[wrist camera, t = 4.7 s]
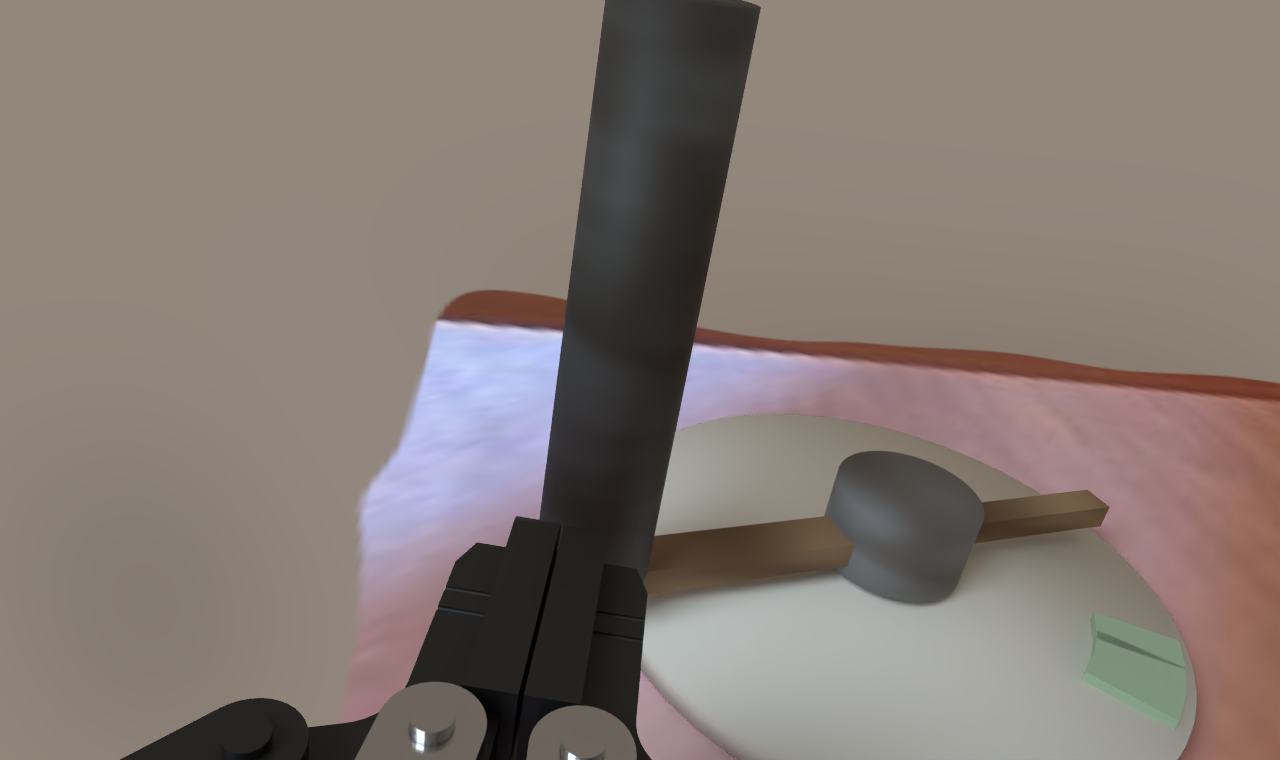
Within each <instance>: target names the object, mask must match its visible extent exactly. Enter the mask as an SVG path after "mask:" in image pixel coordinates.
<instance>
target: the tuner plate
mask: <svg viewBox="0 0 1280 760" xmlns="http://www.w3.org/2000/svg"><path fill="white" fill-rule="evenodd" d="M866 451H889V452H896V453H902V454H906V455H910V456H914V457H917V458H920V459H923V460H926V461H928V462H931V463H933V464H935V465H938V466H940V467H942V468H944V469H945V470H947V471H949V472H951V473H952V474H954V475H955V476H957V477H958V478H960V479H961V480H962V481H964V482H965V483H966V484H967V485H968V486H969V487H970V488H971V489H972V490H973V491H974V492H975V493H976V494H977V496H978V497H979V499H980V500H981V502H988V501H997V500H1005V499H1014V498H1023V497H1031V496H1040V495H1042V494H1040V493H1038V492H1037V491H1035V490H1034V489H1032V488H1030V487H1029V486H1027V485H1025V484H1023V483H1021V482H1019V481H1018V480H1016V479H1014V478H1012V477H1010V476H1008V475H1007V474H1005V473H1003V472H1001V471H999V470H997V469H995V468H992V467H990V466H988V465H986V464H984V463H982V462H980V461H978V460H976V459H973V458H971V457H968V456H966V455H964V454H961V453H959V452H956V451H954V450H951V449H949V448H946V447H944V446H941V445H938V444H935V443H932V442H929V441H926V440H923V439H921V438H918V437H915V436H911V435H908V434H904V433H901V432H897V431H893V430H890V429H886V428H882V427H878V426H873V425H869V424H864V423H860V422H854V421H848V420H842V419H836V418H829V417H820V416H809V415H796V414H760V415H744V416H736V417H729V418H721V419H717V420H713V421H708V422H704V423H700V424H696V425H693V426H690V427H688V428H685V429H682V430H679V431H676V432H675V436H674V441H673V446H672V451H671V456H670V461H669V466H668V471H667V476H666V481H665V486H664V491H663V496H662V501H661V505H660V510H659V515H658V520H657V525H656V530H655V535H654V536H658V535H667V534H675V533H684V532H693V531H701V530H710V529H719V528H727V527H736V526H745V525H754V524H762V523H771V522H780V521H788V520H797V519H806V518H814V517H823V516H824V514H825V511H826V508H827V505H828V501H829V498H830V495H831V491H832V488H833V485H834V482H835V478H836V475H837V472H838V469H839V466H840V464H841V463H842V462H843V461H844V460H845V459H846V458H847V457H849V456H851V455H854V454H856V453H860V452H866ZM641 671H642V672H643V673H644V674H645V676H646V677H647V678H648V679H649V681H650V682H651V683H652V684H653V685H654V687H655V688H656V689H657V690H658V691H659V693H660V694H661V695H662V696H663V697H664V698H665V699H666V700H667V701H668V702H669V703H670V704H671V705H672V706H673V707H674V708H675V709H676V710H677V711H678V712H679V713H681V714H682V715H683V716H684V717H685V718H686V719H687V720H688V721H689V722H690V723H691V724H692V725H693V726H694V727H695V728H697V729H698V730H699V731H700V732H702V733H703V734H704V735H706V736H707V737H708V738H710V739H711V740H712V741H714V742H715V743H716V744H717V745H719V746H720V747H721V748H723V749H724V750H725V751H727V752H728V753H729V754H730V755H732V756H733V757H735V758H736V759H738V760H1178V759H1179V757H1180V756H1181V754H1182V752H1183V751H1184V749H1185V747H1186V745H1187V742H1188V740H1189V737H1190V734H1191V732H1192V729H1193V726H1194V723H1195V715H1196V704H1197V691H1196V684H1195V677H1194V670H1193V667H1192V664H1191V661H1190V658H1189V655H1188V652H1187V649H1186V646H1185V643H1184V641H1183V639H1182V637H1181V635H1180V633H1179V631H1178V629H1177V627H1176V625H1175V623H1174V621H1173V620H1172V618H1171V616H1170V615H1169V613H1168V612H1167V610H1166V609H1165V607H1164V606H1163V604H1162V603H1161V601H1160V600H1159V599H1158V597H1157V596H1156V594H1155V593H1154V591H1153V590H1152V589H1151V588H1150V587H1149V586H1148V584H1147V583H1146V582H1145V581H1144V580H1143V578H1142V577H1141V576H1140V575H1139V574H1138V573H1137V571H1136V570H1135V569H1134V568H1133V567H1132V566H1131V565H1130V564H1129V563H1128V562H1127V561H1126V560H1125V559H1124V558H1123V557H1122V556H1121V555H1120V554H1119V553H1118V552H1117V551H1116V550H1115V549H1114V548H1113V547H1112V546H1111V545H1109V544H1108V543H1107V542H1106V541H1105V540H1103V539H1102V538H1101V537H1100V536H1099V535H1097V534H1096V533H1095V532H1094V531H1093V530H1091V529H1090V528H1082V529H1075V530H1068V531H1061V532H1054V533H1046V534H1039V535H1032V536H1025V537H1018V538H1011V539H1003V540H996V541H989V542H982V543H975V544H974V545H973V547H972V550H971V552H970V555H969V557H968V559H967V562H966V564H965V567H964V569H963V572H962V574H961V577H960V579H959V582H958V584H957V586H956V588H955V589H954V590H953V591H952V592H951V593H950V594H949V595H947V596H946V597H943V598H941V599H938V600H934V601H929V602H907V601H900V600H895V599H891V598H887V597H884V596H881V595H878V594H875V593H873V592H870V591H868V590H866V589H864V588H862V587H860V586H858V585H856V584H855V583H853V582H852V581H850V580H848V579H847V578H846V577H844V576H843V575H842V574H840V573H839V572H838V571H837V570H836V569H835V568H830V569H823V570H816V571H809V572H802V573H795V574H788V575H781V576H774V577H767V578H759V579H752V580H745V581H738V582H731V583H724V584H717V585H710V586H703V587H696V588H689V589H682V590H675V591H668V592H661V593H654V594H648V596H647V607H646V617H645V628H644V639H643V650H642V661H641Z"/></svg>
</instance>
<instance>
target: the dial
mask: <svg viewBox="0 0 1280 760" xmlns="http://www.w3.org/2000/svg"><path fill="white" fill-rule="evenodd" d="M760 9H761V8H760V7H759V6H757V5H755V4H752V3H749V2H745V1H742V0H605V7H604V15H603V23H602V31H601V39H600V46H599V54H598V62H597V70H596V78H595V86H594V94H593V101H592V109H591V118H590V126H589V134H588V141H587V149H586V157H585V165H584V172H583V180H582V188H581V196H580V204H579V212H578V220H577V228H576V236H575V243H574V251H573V259H572V267H571V275H570V283H569V290H568V298H567V306H566V314H565V322H564V330H563V338H562V346H561V354H560V361H559V369H558V377H557V385H556V393H555V401H554V409H553V417H552V424H551V432H550V440H549V448H548V456H547V464H546V472H545V480H544V487H543V495H542V503H541V511H540V519H539V520H542V521H548V522H554V523H560V524H561V533H560V540H559V545H560V541H561V537H562V533H563V529H564V525H565V524H567V525H573V526H579V527H585V528H591V529H597V530H603V531H609V536H608V542H607V548H606V554H605V560H604V564H610V565H616V566H622V567H628V568H634V569H637V571H638V573H639V575H640V577H641V580H642V582H643V584H644V586H645V588H646V591H647V593H648V594H654V593H661V592H668V591H675V590H682V589H689V588H696V587H703V586H710V585H717V584H724V583H731V582H738V581H745V580H752V579H759V578H767V577H774V576H781V575H788V574H795V573H802V572H809V571H816V570H823V569H830V568H835V569H836V570H837V571H838V572H839V573H840V574H842V575H843V576H844V577H846V578H847V579H848V580H850V581H852V582H853V583H855V584H856V585H858V586H860V587H862V588H864V589H866V590H868V591H870V592H873V593H875V594H878V595H881V596H884V597H887V598H891V599H895V600H900V601H907V602H929V601H934V600H938V599H941V598H943V597H946V596H947V595H949V594H950V593H951V592H952V591H953V590H954V589H955V588H956V586H957V584H958V582H959V579H960V577H961V574H962V572H963V569H964V567H965V564H966V562H967V559H968V557H969V555H970V552H971V550H972V547H973V545H974V544H975V543H982V542H989V541H996V540H1003V539H1011V538H1018V537H1025V536H1032V535H1039V534H1046V533H1054V532H1061V531H1068V530H1075V529H1082V528H1090V527H1097V526H1101V524H1102V522H1103V519H1104V517H1105V515H1106V513H1107V511H1108V509H1109V506H1107V505H1106V504H1105V503H1104V502H1102V501H1101V500H1100V499H1098V498H1097V497H1096V496H1095V495H1093V494H1092V493H1091V492H1089V491H1088V490H1082V491H1074V492H1065V493H1057V494H1048V495H1040V496H1031V497H1023V498H1014V499H1005V500H997V501H988V502H981V500H980V499H979V497H978V496H977V494H976V493H975V492H974V491H973V490H972V489H971V488H970V487H969V486H968V485H967V484H966V483H965V482H964V481H962V480H961V479H960V478H958V477H957V476H955V475H954V474H952V473H951V472H949V471H947V470H945V469H944V468H942V467H940V466H938V465H935V464H933V463H931V462H928V461H926V460H923V459H920V458H917V457H914V456H910V455H906V454H902V453H896V452H889V451H866V452H860V453H856V454H854V455H851V456H849V457H847V458H846V459H845V460H844V461H843V462H842V463H841V464H840V466H839V469H838V472H837V475H836V478H835V482H834V485H833V488H832V491H831V495H830V498H829V501H828V505H827V508H826V511H825V514H824V516H823V517H814V518H806V519H797V520H788V521H780V522H771V523H762V524H754V525H745V526H736V527H727V528H719V529H710V530H701V531H693V532H684V533H675V534H667V535H658V536H654V535H655V530H656V525H657V520H658V515H659V510H660V505H661V501H662V496H663V491H664V486H665V481H666V476H667V471H668V466H669V461H670V456H671V451H672V446H673V441H674V436H675V431H676V426H677V421H678V416H679V411H680V406H681V401H682V396H683V391H684V386H685V381H686V376H687V371H688V366H689V361H690V357H691V352H692V347H693V342H694V337H695V332H696V327H697V321H698V317H699V312H700V307H701V302H702V296H703V292H704V286H705V282H706V277H707V272H708V267H709V262H710V257H711V252H712V247H713V242H714V237H715V232H716V227H717V222H718V217H719V213H720V208H721V203H722V197H723V193H724V188H725V183H726V178H727V172H728V168H729V163H730V158H731V153H732V148H733V143H734V138H735V133H736V127H737V123H738V118H739V113H740V108H741V103H742V98H743V93H744V88H745V83H746V78H747V73H748V68H749V63H750V59H751V54H752V49H753V43H754V39H755V33H756V29H757V24H758V19H759V13H760ZM558 550H559V547H558Z"/></svg>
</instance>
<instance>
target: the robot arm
mask: <svg viewBox="0 0 1280 760" xmlns="http://www.w3.org/2000/svg"><path fill="white" fill-rule="evenodd" d="M560 533H561V524H560V523H554V522H548V521H542V520H536V519H530V518H524V517H518V516H516V518H515V520H514V523H513V526H512V530H511V533H510V536H509V539H508V542H507V545H506V547H501V546H495V545H489V544H483V543H476V544H475V545H474V546H473V547H472V548H470V549H469V550H468V551H467V552H466V553H465V554H464V555H462V556H461V557H460V558H459V559H458V560H457V561H456V562H455V564H454V567H453V569H452V572H451V575H450V577H449V580H448V582H447V585H446V589H445V590H444V592H443V595H442V597H441V600H440V602H439V605H438V610H436V613H435V615H434V618H433V620H432V623H431V625H430V628H429V630H428V633H427V635H426V638H425V640H424V643H423V646H422V648H421V651H420V653H419V656H418V658H417V661H416V663H415V666H414V668H413V671H412V673H411V676H410V679H409V681H408V683H407V685H406V687H405V689H403V690H401V691H399V692H397V693H396V694H395V695H393V696H392V697H391V698H390V699H389V700H388V701H387V702H386V703H385V704H384V706H383V707H382V709H381V710H380V712H378V713H377V714H375V715H372V716H370V717H368V718H365V719H362V720H358V721H355V722H349V723H343V724H334V725H325V726H316V727H307V724H306V721H305V719H304V718H303V716H302V715H301V714H300V713H299V712H298V711H297V710H296V709H295V708H293V707H292V706H290V705H289V704H287V703H284V702H281V701H278V700H273V699H266V698H265V699H264V698H255V699H246V700H241V701H237V702H234V703H231V704H229V705H226V706H223V707H221V708H219V709H217V710H215V711H213V712H211V713H209V714H207V715H206V716H204V717H202V718H200V719H198V720H196V721H194V722H192V723H190V724H188V725H186V726H184V727H183V728H180V729H179V730H176V731H175V732H173V733H171V734H169V735H167V736H165V737H163V738H161V739H159V740H157V741H155V742H153V743H151V744H150V745H147V746H146V747H144V748H142V749H140V750H138V751H136V752H134V753H132V754H130V755H128V756H126V757H124V758H122V759H120V760H651V758H650V757H649V756H648V754H647V753H646V752H645V750H644V748H643V747H642V745H641V743H640V740H639V738H638V734H637V729H636V715H637V704H638V693H639V682H640V671H641V661H642V650H643V639H644V628H645V617H646V607H647V596H648V593H647V591H646V588H645V586H644V584H643V582H642V580H641V577H640V575H639V573H638V571H637V569H634V568H628V567H622V566H616V565H610V564H604V560H605V554H606V548H607V542H608V536H609V531H603V530H597V529H591V528H585V527H579V526H573V525H567V524H565V525H564V529H563V533H562V537H561V541H560V545H559V540H560ZM558 547H559V550H558Z"/></svg>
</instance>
